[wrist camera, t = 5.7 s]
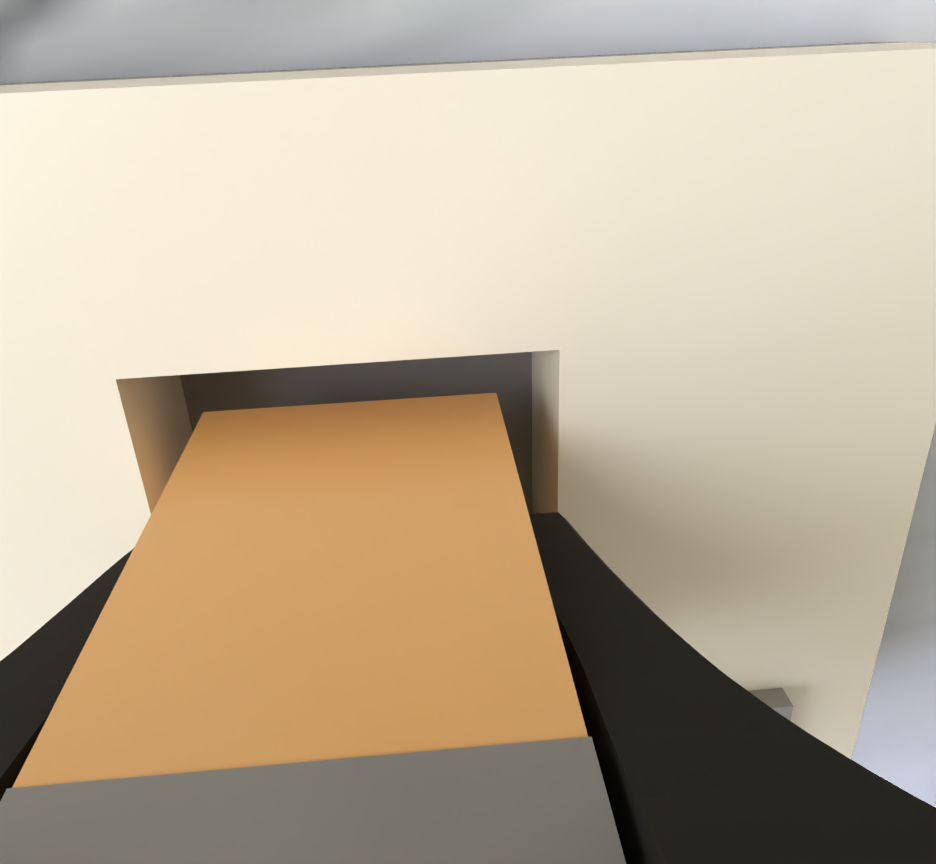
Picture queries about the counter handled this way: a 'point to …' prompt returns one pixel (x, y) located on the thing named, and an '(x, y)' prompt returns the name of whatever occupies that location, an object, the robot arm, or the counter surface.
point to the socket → (504, 313)
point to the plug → (324, 662)
